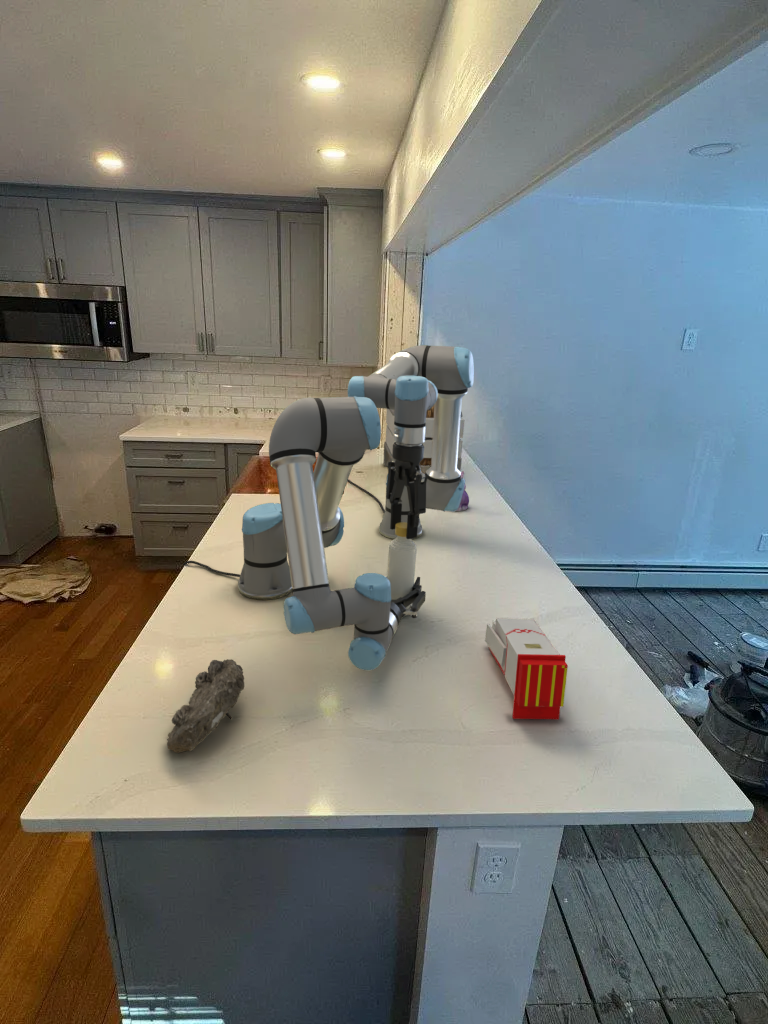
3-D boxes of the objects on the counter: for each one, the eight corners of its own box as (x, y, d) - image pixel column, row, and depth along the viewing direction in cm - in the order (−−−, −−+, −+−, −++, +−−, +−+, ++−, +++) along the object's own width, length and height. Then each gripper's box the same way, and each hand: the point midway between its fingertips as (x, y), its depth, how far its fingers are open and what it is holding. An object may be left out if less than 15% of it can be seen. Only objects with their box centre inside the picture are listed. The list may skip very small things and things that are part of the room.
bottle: (397, 600, 155) (401, 520, 147) (417, 609, 150) (423, 527, 142) (380, 609, 149) (383, 526, 141) (400, 619, 145) (405, 534, 137)
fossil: (192, 660, 117) (244, 628, 112) (224, 691, 120) (276, 661, 115) (142, 746, 98) (202, 712, 93) (182, 779, 101) (242, 748, 96)
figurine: (455, 513, 222) (459, 476, 217) (441, 505, 231) (444, 469, 226) (475, 510, 226) (479, 474, 221) (460, 502, 235) (464, 467, 230)
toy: (531, 603, 136) (576, 661, 106) (526, 655, 139) (569, 725, 109) (481, 602, 135) (512, 660, 106) (477, 654, 138) (507, 724, 109)
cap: (391, 533, 142) (392, 524, 142) (402, 529, 145) (403, 521, 144) (404, 538, 140) (404, 529, 139) (414, 534, 143) (415, 525, 142)
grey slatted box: (382, 463, 289) (386, 382, 275) (445, 464, 293) (451, 384, 279) (390, 482, 257) (394, 392, 243) (460, 483, 261) (468, 394, 247)
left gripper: (341, 628, 135) (368, 585, 156) (423, 643, 130) (440, 597, 151) (341, 600, 132) (369, 561, 153) (426, 614, 128) (442, 572, 149)
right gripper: (373, 436, 140) (370, 522, 148) (420, 453, 125) (413, 549, 133) (398, 433, 144) (394, 518, 152) (446, 450, 129) (439, 543, 137)
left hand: (404, 579), depth 152 cm, fingers closed on bottle, 7 cm apart
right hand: (403, 532), depth 142 cm, fingers open, 6 cm apart
